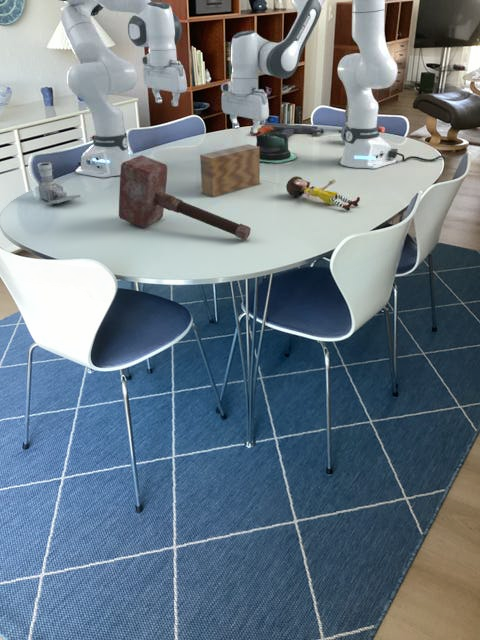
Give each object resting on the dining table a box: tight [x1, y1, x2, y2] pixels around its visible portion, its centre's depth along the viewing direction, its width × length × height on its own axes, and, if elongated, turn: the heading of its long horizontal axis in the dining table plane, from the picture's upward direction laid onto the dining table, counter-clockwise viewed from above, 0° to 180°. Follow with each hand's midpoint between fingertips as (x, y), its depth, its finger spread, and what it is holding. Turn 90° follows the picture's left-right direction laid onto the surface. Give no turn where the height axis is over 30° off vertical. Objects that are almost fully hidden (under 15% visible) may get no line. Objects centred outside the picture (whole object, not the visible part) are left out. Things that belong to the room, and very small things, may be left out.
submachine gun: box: [249, 122, 325, 138], centre depth 263 cm, size 32×3×25 cm
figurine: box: [285, 176, 361, 211], centre depth 178 cm, size 13×8×25 cm
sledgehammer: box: [118, 154, 252, 241], centre depth 157 cm, size 17×10×40 cm
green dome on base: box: [255, 132, 297, 164], centre depth 229 cm, size 15×19×20 cm
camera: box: [37, 161, 82, 205], centre depth 182 cm, size 9×12×15 cm
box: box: [199, 143, 261, 198], centre depth 191 cm, size 21×6×13 cm, turn 131°
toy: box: [338, 121, 347, 142], centre depth 244 cm, size 9×9×15 cm
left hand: (166, 104), depth 187 cm, fingers open, 8 cm apart
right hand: (244, 130), depth 188 cm, fingers open, 8 cm apart
